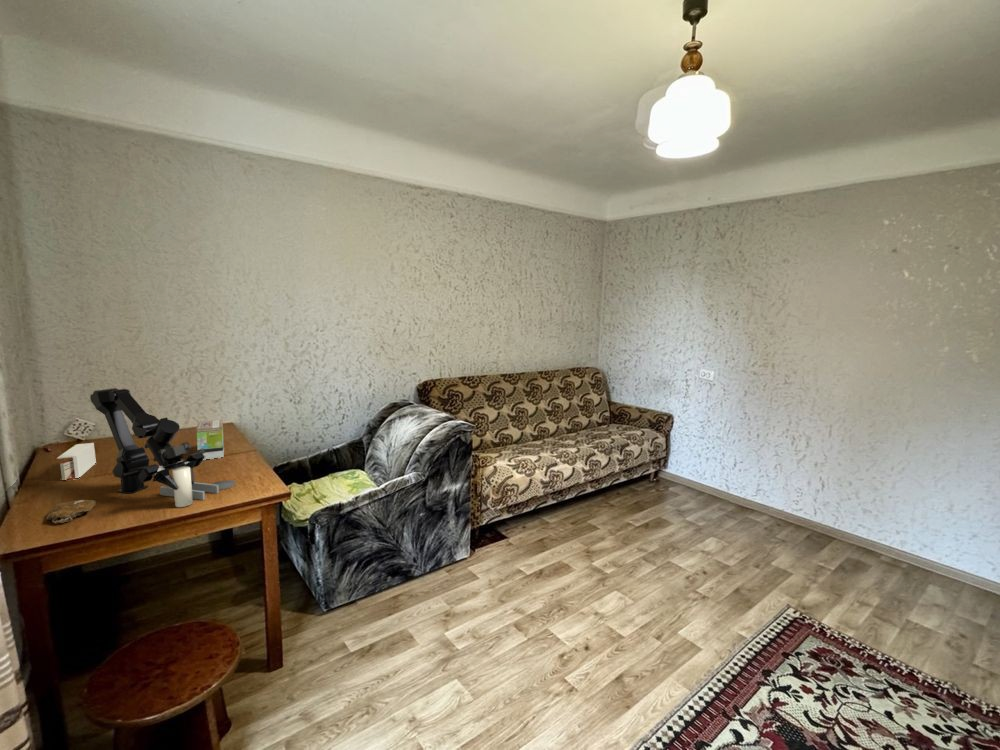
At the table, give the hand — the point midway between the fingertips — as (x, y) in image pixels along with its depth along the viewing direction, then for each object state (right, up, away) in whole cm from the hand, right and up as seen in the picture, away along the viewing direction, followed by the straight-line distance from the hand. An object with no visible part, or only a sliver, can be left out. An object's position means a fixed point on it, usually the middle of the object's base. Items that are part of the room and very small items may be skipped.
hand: (185, 486), depth 150 cm
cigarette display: (-64, -2, +29) cm, 70 cm away
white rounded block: (-1, -6, +2) cm, 7 cm away
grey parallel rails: (-6, -5, +10) cm, 13 cm away
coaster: (+1, -4, +18) cm, 19 cm away
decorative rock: (-31, -8, -7) cm, 33 cm away
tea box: (-26, +1, +53) cm, 59 cm away
